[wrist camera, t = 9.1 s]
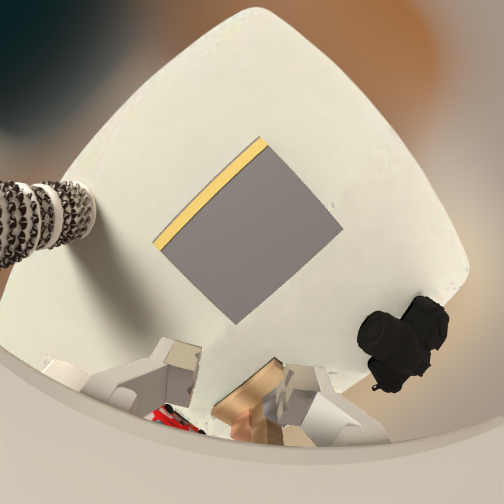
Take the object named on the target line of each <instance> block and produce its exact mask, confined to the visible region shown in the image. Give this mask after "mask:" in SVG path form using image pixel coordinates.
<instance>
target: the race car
mask: <svg viewBox="0 0 504 504" xmlns="http://www.w3.org/2000/svg"><path fill="white" fill-rule="evenodd" d="M143 418H144V419H147V420H151V421H154V422H157V423H160V424H164V425H167V426H171V427H174V428H178V429H182V430H186V431H190V432H194V433H199V434H204V435H206V433H205V432H204V431H203V430H198V428H197V427H195V426H194V425H193V424H191V423H190V422H189V421H187V420H186V419H185V418H184V417H182V416H181V415H180V414H179V413H177V412H176V411H173V408H172V406H171V405H169V404H164V405H162V406H161V407H159V408H158V409H156V410H154V411H153V412H151V413H150V414H148V415H146V416H145V417H143Z"/></svg>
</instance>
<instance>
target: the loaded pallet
mask: <svg viewBox="0 0 504 504" xmlns="http://www.w3.org/2000/svg"><path fill="white" fill-rule="evenodd" d="M284 368H285V367H283V364H282V362H281V361H279V360H278V359H277V358H275V357H274V358H272V359H271V360H270V361H269V362H268V363H267V364H265V365H264V366H263V367H262V368H261V369H260V370H258V371H257V372H256V373H255V374H254V375H252V376H251V377H250V378H249V379H247V380H246V381H245V382H244V383H243V384H241V385H240V386H239V387H238V388H236V389H235V390H234V391H232V392H231V393H230V394H229V395H227V396H226V397H225V398H223V399H222V400H221V401H219V402H218V403H217V404H215V405H214V408H212V413H211V415H212V416H214V417H216V418H217V419H219V420H221V421H223V422H224V423H226V424H228V425H230V426H231V425H232V419H233V418H235V417H236V416H238V415H239V414H241V413H242V412H243V411H245V410H246V409H248V408H251V443H259V444H269V445H281V446H284V444H283V434H282V426H281V425H279V424H277V423H275V422H273V421H272V420H270V419H268V418H266V417H264V416H263V397H264V396H265V395H267V394H268V393H269V392H271V391H272V390H273V389H274V388H276V387H277V386H278V384H279V381H280V380H282V379H283V378H284V377H283V370H284Z"/></svg>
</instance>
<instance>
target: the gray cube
mask: <svg viewBox="0 0 504 504" xmlns="http://www.w3.org/2000/svg"><path fill="white" fill-rule="evenodd" d="M277 387H278V386H277ZM277 387H276V388H274V389H273V390H272V391H271V392H269V393H268V394H267V395H265V396H264V397H263V416H264V417H266V418H268V419H270V420H272V421H273V422H275V423H277V424H278V417H277V410H278V407H279V406H278V405H277V404H276V392H277ZM279 425H281V426H283V427H285V426H286V425H287V424H279Z"/></svg>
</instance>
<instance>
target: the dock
mask: <svg viewBox="0 0 504 504" xmlns="http://www.w3.org/2000/svg"><path fill="white" fill-rule="evenodd" d="M342 230H343V228H342V227H341V226H340V224H339V223H338V222H337V221H336V220H335V218H334V217H333V216H332V215H331V214H330V212H329V211H328V210H327V209H326V208H325V206H324V205H323V204H322V203H321V202H320V201H319V200H318V198H317V197H316V196H315V195H314V194H313V193H312V192H311V190H310V189H309V188H308V187H307V186H306V185H305V184H304V183H303V182H302V180H301V179H300V178H299V177H298V176H297V175H296V174H295V173H294V172H293V171H292V170H291V169H290V167H289V166H288V165H287V164H286V163H285V162H284V161H283V160H282V159H281V158H280V157H279V156H278V155H277V154H276V153H275V152H274V151H273V150H272V149H271V148H270V147H269V146H268V144H267V143H266V142H265V141H264V140H263V139H262V138H261V137H258V138H256V139H255V140H254V141H253V142H252V143H251V144H250V145H249V146H247V147H246V148H245V149H244V150H243V151H242V152H241V153H240V154H239V155H238V156H237V157H235V158H234V159H233V160H232V161H231V162H230V163H229V164H228V165H227V166H226V167H225V168H224V169H223V170H222V171H221V172H220V173H218V174H217V175H216V176H215V177H214V178H213V179H212V180H211V181H210V182H209V183H208V184H207V185H206V186H205V187H204V188H203V189H202V190H201V191H200V192H199V193H198V194H197V195H196V196H195V197H194V198H193V199H192V200H191V201H190V202H189V203H188V204H187V205H186V206H185V207H184V208H183V209H182V211H181V212H180V213H179V214H178V215H177V216H176V217H175V218H174V219H173V220H172V221H171V222H170V223H169V224H168V225H167V226H166V228H165V229H164V230H163V231H162V232H161V233H160V234H159V235H158V236H157V237H156V238H155V240H154V241H153V242H152V243H153V245H154V246H155V247H156V248H157V249H158V250H159V251H161V252H162V253H163V254H164V255H165V256H166V257H167V258H168V259H169V261H170V262H171V263H172V264H173V265H174V266H175V267H176V268H177V269H178V270H179V271H180V272H181V273H182V274H183V275H184V276H185V277H186V278H187V279H188V280H189V281H190V282H191V283H192V284H193V285H194V286H195V287H196V288H197V289H198V290H199V291H200V292H202V293H203V294H204V295H205V296H206V297H207V298H208V299H209V300H210V301H211V302H212V303H213V304H214V305H215V306H216V307H217V308H218V309H219V310H220V311H221V312H222V313H224V314H225V315H226V316H227V317H228V318H229V319H230V320H231V321H232V322H233V323H234V324H235V325H236V324H238V323H239V322H240V321H241V320H242V319H243V318H245V317H246V316H247V315H248V314H249V313H251V312H252V311H253V310H254V309H255V308H256V307H258V306H259V305H260V304H261V303H262V302H263V301H265V300H266V299H267V298H268V297H269V296H270V295H272V294H273V293H274V292H275V291H276V290H277V289H278V288H280V287H281V286H282V285H283V284H284V283H285V282H286V281H287V280H289V279H290V278H291V277H292V276H293V275H294V274H295V273H296V272H298V271H299V270H300V269H301V268H302V267H303V266H304V265H305V264H306V263H308V262H309V261H310V260H311V259H312V258H313V257H314V256H315V255H316V254H317V253H318V252H320V251H321V250H322V249H323V248H324V247H325V246H326V245H327V244H328V243H329V242H330V241H331V240H332V239H334V238H335V237H336V236H337V235H338V234H339V233H340V232H341V231H342Z"/></svg>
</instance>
